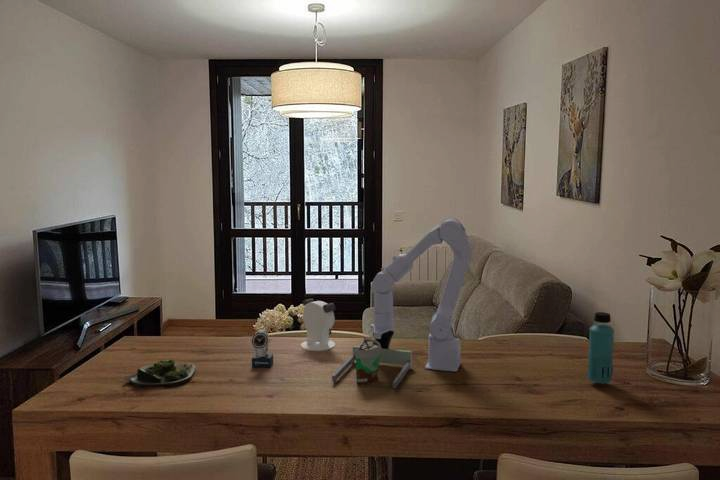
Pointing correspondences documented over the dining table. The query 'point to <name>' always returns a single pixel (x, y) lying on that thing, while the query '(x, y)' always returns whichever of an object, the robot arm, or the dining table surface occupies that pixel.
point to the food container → (367, 361)
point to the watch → (261, 350)
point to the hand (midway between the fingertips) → (383, 355)
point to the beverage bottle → (601, 350)
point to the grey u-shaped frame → (385, 357)
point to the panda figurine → (318, 325)
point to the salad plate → (162, 374)
